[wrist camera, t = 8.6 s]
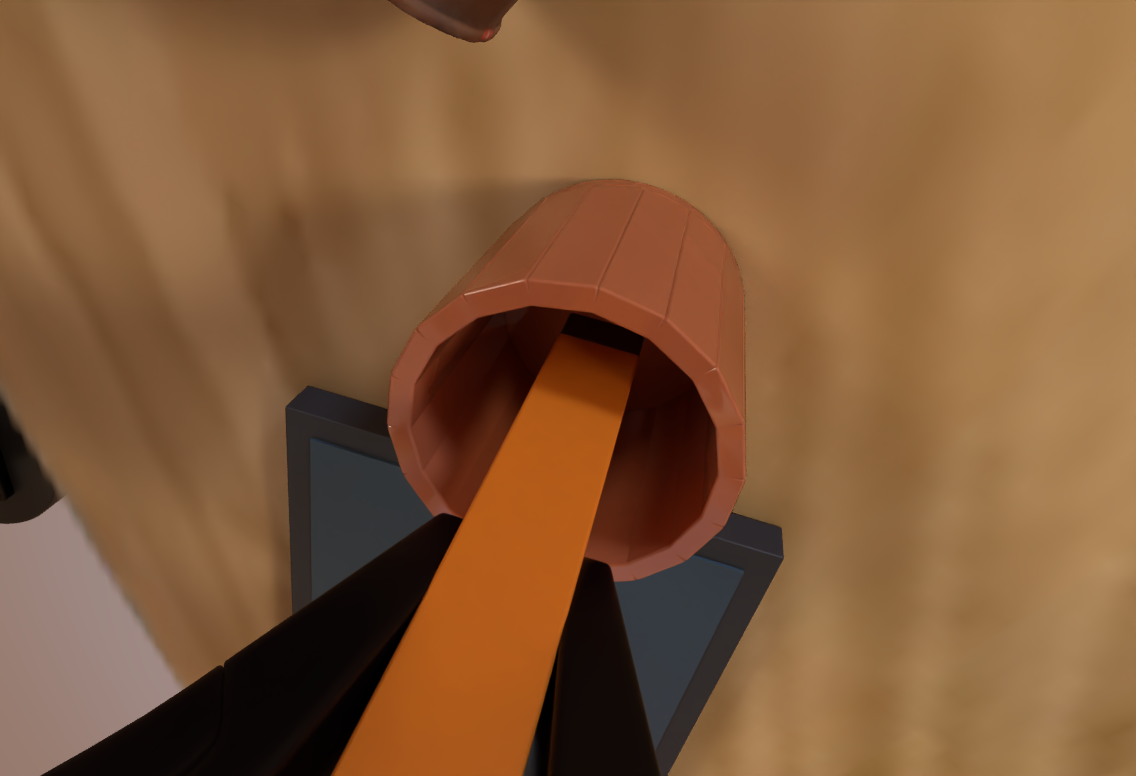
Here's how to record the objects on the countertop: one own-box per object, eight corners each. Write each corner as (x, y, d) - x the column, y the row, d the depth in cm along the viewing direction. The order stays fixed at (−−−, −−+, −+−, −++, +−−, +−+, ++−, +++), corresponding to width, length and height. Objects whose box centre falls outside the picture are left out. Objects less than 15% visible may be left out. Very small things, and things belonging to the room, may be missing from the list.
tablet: (312, 774, 32) (297, 802, 31) (307, 384, 20) (282, 408, 19) (603, 874, 31) (597, 907, 30) (782, 527, 19) (784, 561, 18)
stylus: (556, 375, 15) (250, 1022, 6) (570, 310, 14) (237, 950, 5) (626, 395, 15) (432, 1091, 6) (646, 331, 14) (452, 1031, 5)
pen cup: (477, 377, 18) (378, 528, 13) (512, 145, 15) (398, 231, 10) (698, 442, 18) (681, 623, 13) (785, 218, 15) (807, 345, 10)
